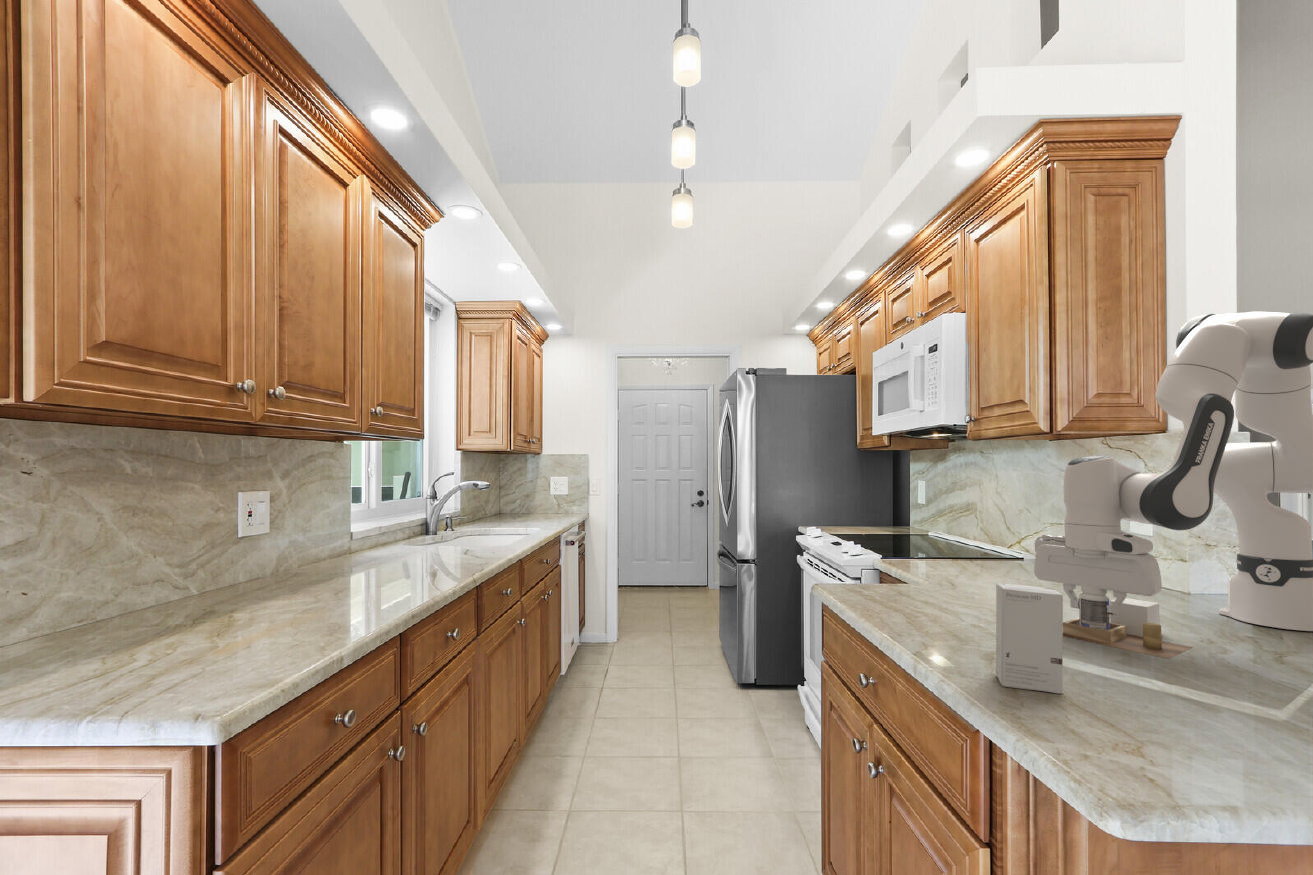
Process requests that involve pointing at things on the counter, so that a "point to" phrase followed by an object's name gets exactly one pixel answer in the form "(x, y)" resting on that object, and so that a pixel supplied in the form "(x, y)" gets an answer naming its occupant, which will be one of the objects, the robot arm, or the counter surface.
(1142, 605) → the block
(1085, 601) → the pill bottle
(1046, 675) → the skincare box
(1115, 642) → the board
